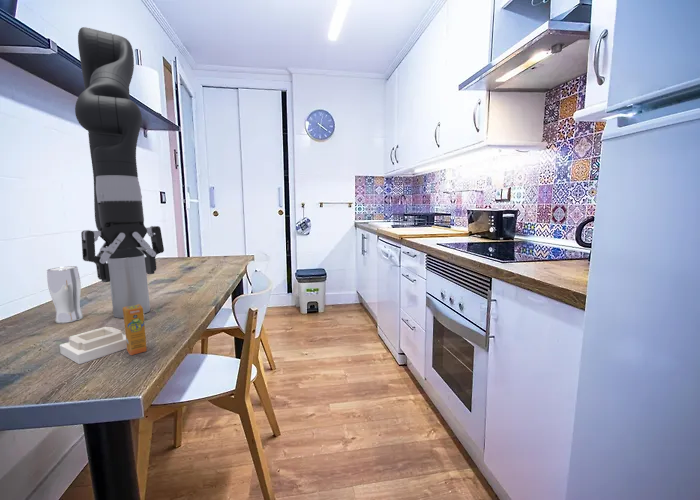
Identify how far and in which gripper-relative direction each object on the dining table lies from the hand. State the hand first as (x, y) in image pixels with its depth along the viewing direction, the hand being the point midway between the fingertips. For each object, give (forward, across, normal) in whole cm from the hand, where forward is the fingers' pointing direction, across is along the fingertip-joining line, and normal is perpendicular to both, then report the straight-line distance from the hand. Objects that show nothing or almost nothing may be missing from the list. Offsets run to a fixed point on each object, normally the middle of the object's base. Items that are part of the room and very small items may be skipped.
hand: (129, 277), depth 69 cm
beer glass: (+16, -1, -41) cm, 44 cm away
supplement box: (+17, 0, 0) cm, 17 cm away
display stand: (+16, +4, -9) cm, 19 cm away
